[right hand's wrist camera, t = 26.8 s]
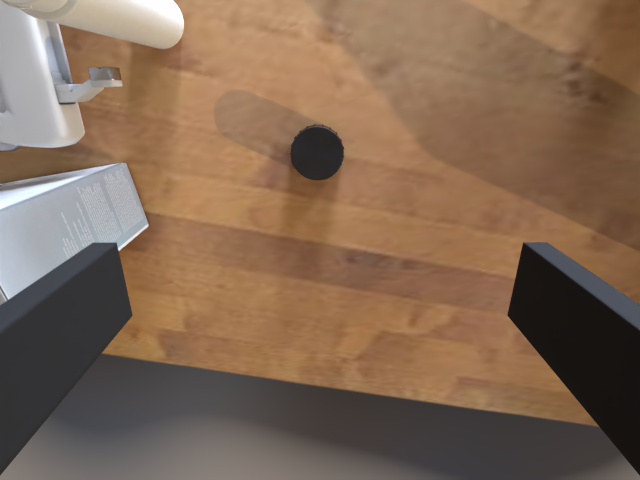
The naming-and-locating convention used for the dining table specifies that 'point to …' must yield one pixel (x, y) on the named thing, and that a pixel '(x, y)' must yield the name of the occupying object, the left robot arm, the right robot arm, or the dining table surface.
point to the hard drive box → (63, 220)
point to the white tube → (113, 18)
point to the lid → (317, 152)
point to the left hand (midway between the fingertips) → (104, 10)
